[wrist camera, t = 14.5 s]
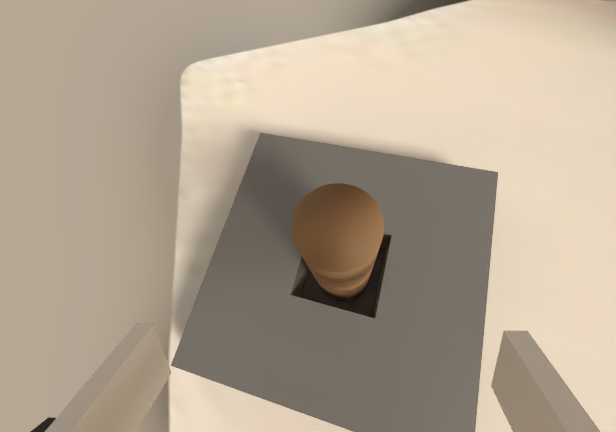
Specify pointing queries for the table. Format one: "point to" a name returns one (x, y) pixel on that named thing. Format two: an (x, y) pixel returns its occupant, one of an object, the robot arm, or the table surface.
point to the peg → (339, 237)
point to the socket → (341, 323)
